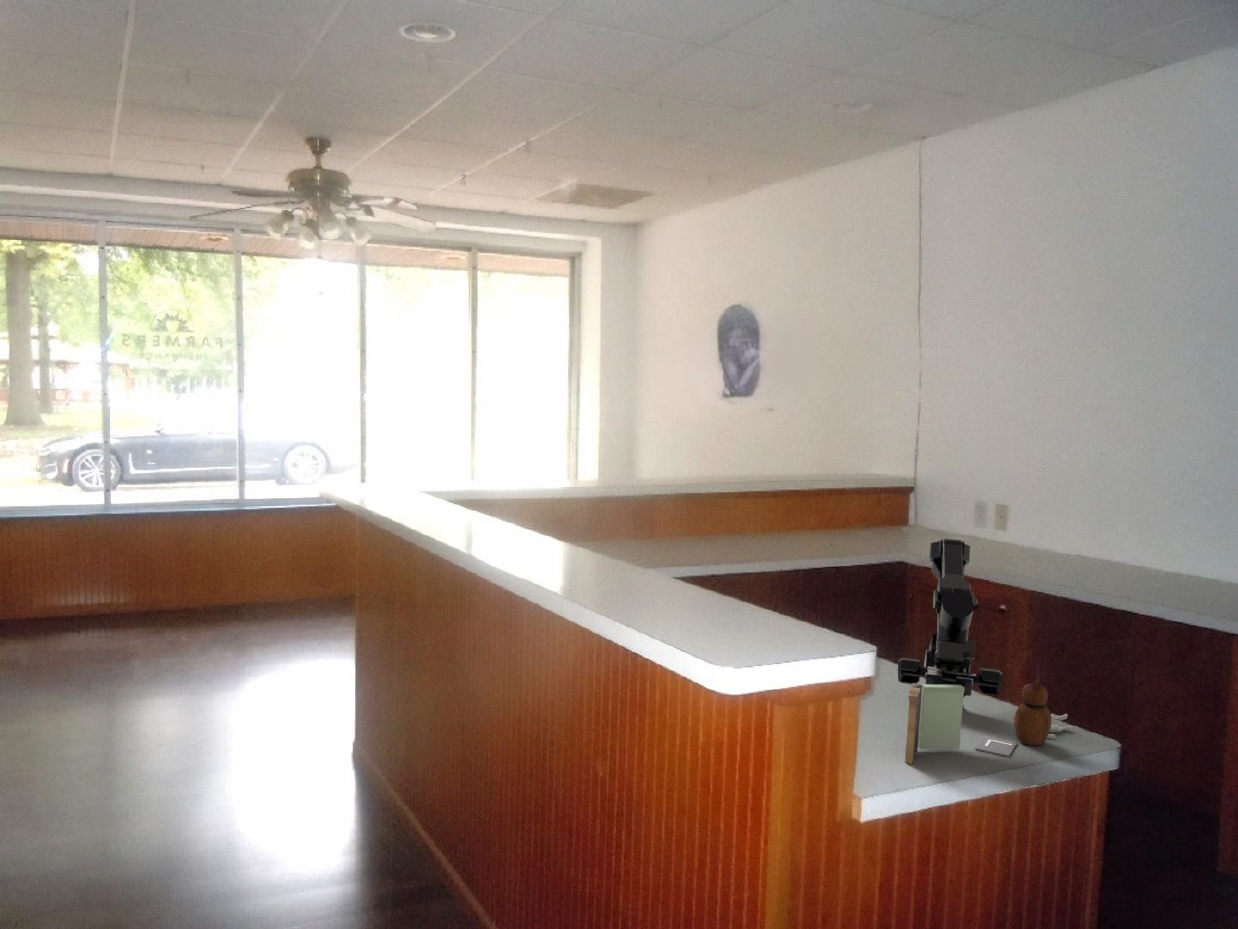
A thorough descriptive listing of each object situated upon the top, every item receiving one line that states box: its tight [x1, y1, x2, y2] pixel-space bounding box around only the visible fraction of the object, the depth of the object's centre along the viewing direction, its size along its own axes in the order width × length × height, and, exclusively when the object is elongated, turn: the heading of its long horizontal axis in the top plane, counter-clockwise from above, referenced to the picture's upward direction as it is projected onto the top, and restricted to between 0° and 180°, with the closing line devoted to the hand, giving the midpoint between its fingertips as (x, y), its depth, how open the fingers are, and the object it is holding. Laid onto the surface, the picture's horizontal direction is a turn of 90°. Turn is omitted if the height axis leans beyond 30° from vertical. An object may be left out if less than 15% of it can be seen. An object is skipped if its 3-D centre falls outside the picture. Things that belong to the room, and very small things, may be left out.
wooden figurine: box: [1013, 663, 1052, 746], centre depth 192 cm, size 7×6×15 cm
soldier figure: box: [1013, 713, 1073, 740], centre depth 198 cm, size 8×5×12 cm
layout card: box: [974, 735, 1018, 758], centre depth 189 cm, size 8×6×1 cm
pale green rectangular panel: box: [918, 683, 965, 750], centre depth 185 cm, size 8×2×12 cm, turn 95°
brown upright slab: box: [904, 683, 922, 765], centre depth 182 cm, size 8×2×12 cm, turn 159°
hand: (945, 718), depth 186 cm, fingers closed
